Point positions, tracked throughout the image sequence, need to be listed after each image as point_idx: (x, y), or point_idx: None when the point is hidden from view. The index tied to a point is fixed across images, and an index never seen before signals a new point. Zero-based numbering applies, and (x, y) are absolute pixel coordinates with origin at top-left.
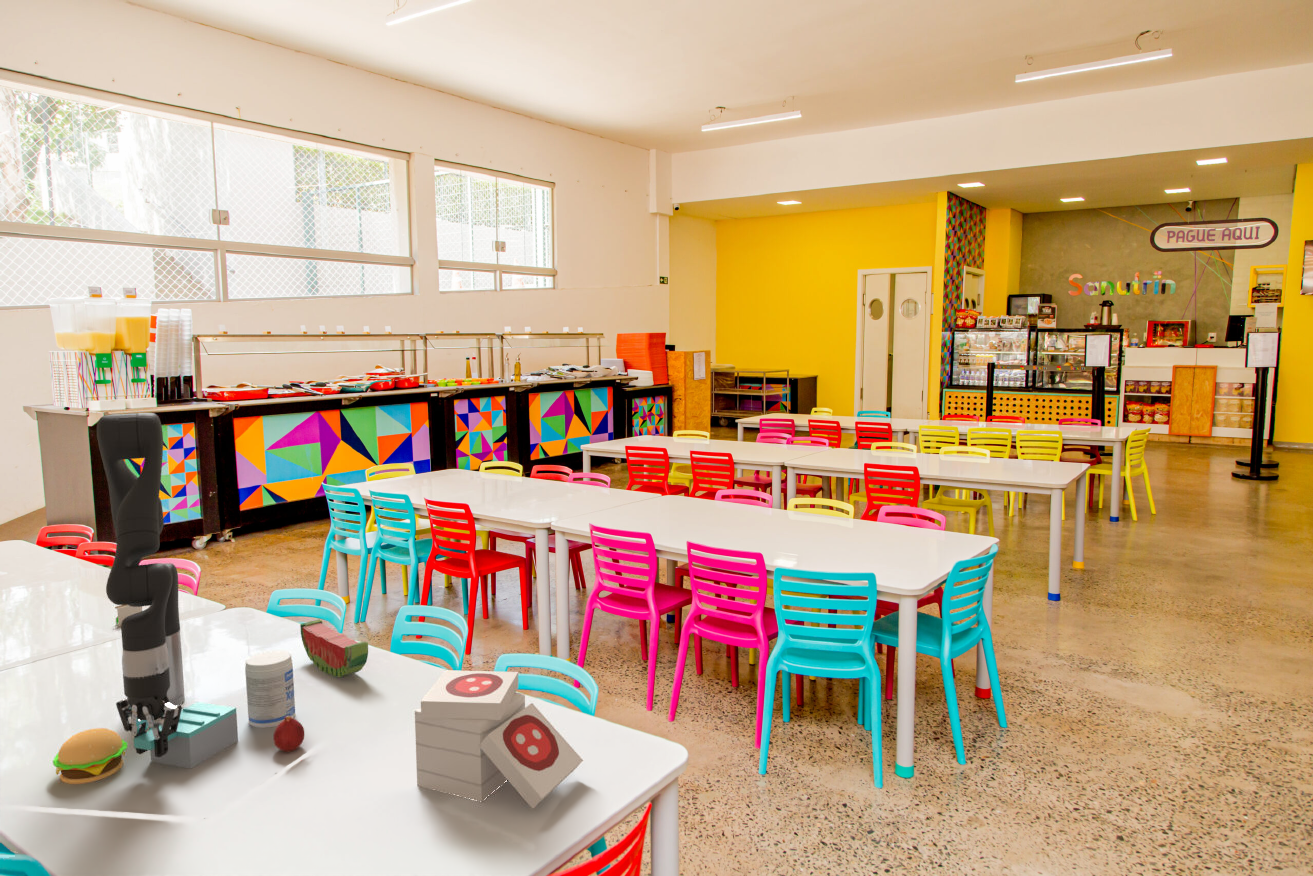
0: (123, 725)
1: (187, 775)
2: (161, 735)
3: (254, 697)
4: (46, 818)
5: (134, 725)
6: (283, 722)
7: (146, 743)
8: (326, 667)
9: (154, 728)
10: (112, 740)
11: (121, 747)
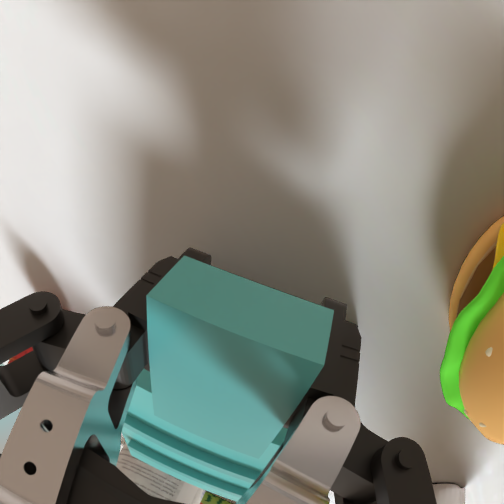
0: (428, 483)
1: (187, 246)
2: (58, 313)
3: (153, 476)
4: None
5: (307, 480)
6: (17, 356)
7: (192, 297)
8: (208, 501)
9: (76, 379)
10: (496, 392)
11: (459, 374)
